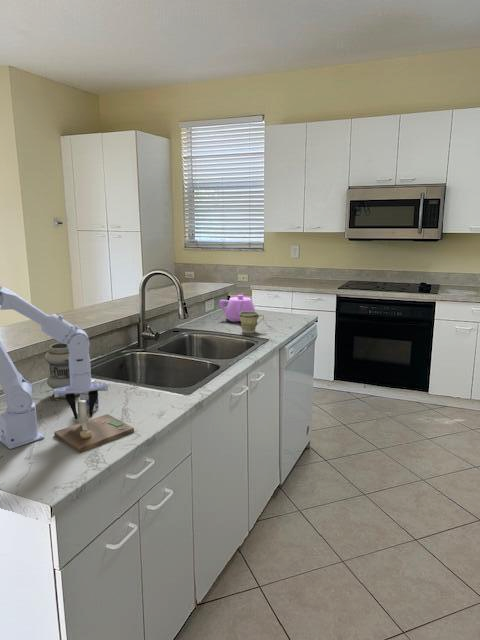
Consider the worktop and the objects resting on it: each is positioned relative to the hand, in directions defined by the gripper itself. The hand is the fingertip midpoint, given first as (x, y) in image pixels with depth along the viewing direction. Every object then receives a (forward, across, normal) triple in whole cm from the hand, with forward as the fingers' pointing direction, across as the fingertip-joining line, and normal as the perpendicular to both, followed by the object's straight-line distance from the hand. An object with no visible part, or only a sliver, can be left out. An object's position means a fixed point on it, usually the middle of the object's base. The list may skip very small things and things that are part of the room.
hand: (83, 416), depth 139 cm
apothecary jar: (+4, +3, -30) cm, 31 cm away
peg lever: (+2, 0, +4) cm, 5 cm away
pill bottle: (+4, -3, -14) cm, 15 cm away
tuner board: (+4, -3, +4) cm, 6 cm away
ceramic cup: (+4, -92, -91) cm, 129 cm away
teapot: (+4, -96, -119) cm, 153 cm away
